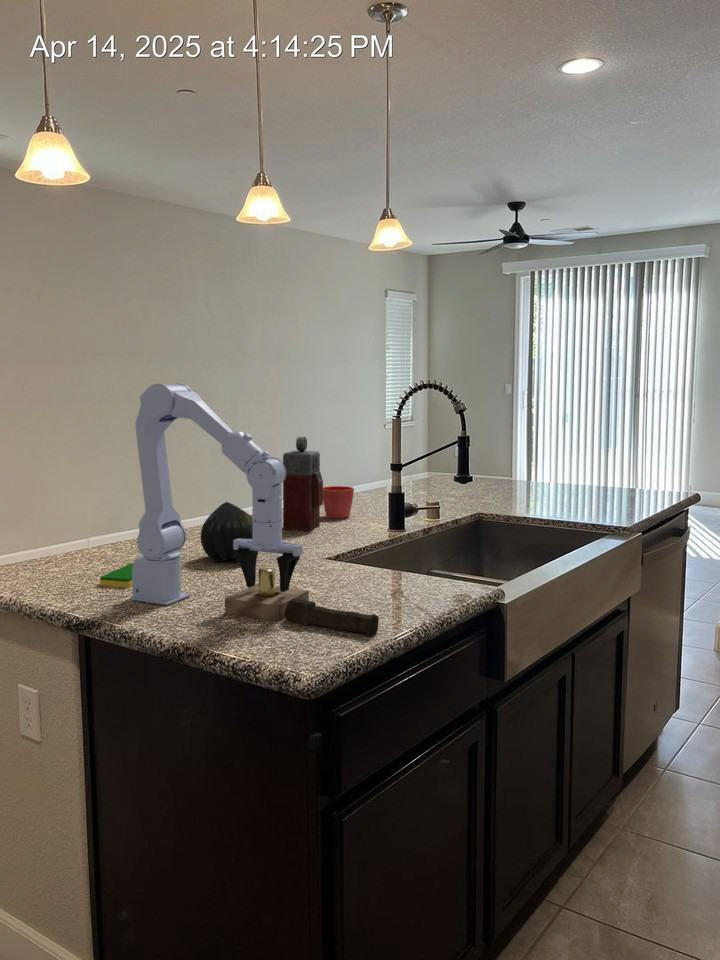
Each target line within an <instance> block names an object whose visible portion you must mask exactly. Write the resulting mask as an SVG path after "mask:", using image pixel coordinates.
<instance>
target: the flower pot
mask: <svg viewBox="0 0 720 960" xmlns="http://www.w3.org/2000/svg"><path fill="white" fill-rule="evenodd" d="M354 491H355V488H354V487H351V486H345V485H344V486H342V485H340V486H339V485H337V486H336V485H335V486H334V485H333V486H323V506H324V507H323V508H324V512H325V516H327V517H326V518H328V517H329V519H346V518H345V517H347V518H349V517H350V514H351V511H352V510H351V509H352V504H353V499H354V493H355V492H354Z"/></svg>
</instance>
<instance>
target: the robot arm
mask: <svg viewBox="0 0 720 960" xmlns="http://www.w3.org/2000/svg"><path fill="white" fill-rule="evenodd" d="M139 399H140V401H139V402H140V408H139V411H138V413H137V416H136V417H137V418H136V420H135V434H136V442H137V452H138V460H139V466H140V467H139V469H140V474H141V476H140V477H141V485H142V491H143V492H142V493H143V501H144V508H145V510H144V511H145V512H144V513H143V515H142V517H141V518H140V521H139V522H138V528H139V529H138V530H139V532H138V535H137V538H136V546H137V549H138V551H139V553H140V555H138V556H137V557H136V558H135V559H134V561H133V567H132V587H131V588H132V596H130V597H129V600H131V601H137V602H143V603H144V602H145V603H151V604H157V605H163V606H164V605H165V606H169V605H171V604H173V603H177V602H178V601H180V600H181V601H182V600H184V599H186V598H188V597H190V596H191V593H188V592H182V570H181V569H182V568H181V567H182V566H181V565H182V563H181V562H182V561H181V560H182V558H181V555H182V547H184V545H185V544H186V542H187V532H186V529H185V527H184V526H183V523H182V520H181V515H180V514H179V513H178V511H177V510H176V509H175V508H174V506H173V497H172V490H171V489H172V488H171V481H170V480H171V479H170V472H169V464H168V463H169V462H168V453H167V447H166V446H167V445H166V437H165V431H166V430H167V429H168V428H169V427H170V426H171V424H172V423H173V422H174V421H176V420H177V419H187V420H191V421H192V422H194V423H195V425H196V424H197V425H198V426H199V427H200V428H201V429H202V430H204V431H205V432H206V433H207V434H208V435H210V436H211V437H212V438H213V439H214V440H216V441H217V442H218V443H220V445H221V452H222V454H223V455H224V457H226V458H227V459H228V460H229V461H230V462H231V463H233V464H234V465H235V467H236V468H238V469H239V470H240V471H241V472H242V473H244V475H246V480H247V482H248V484H249V486H250V487H251V489H252V490H251V491H252V497H251V498H252V499H251V500H252V506H251V507H252V517H253V539H240V538H238V539H235V540H233V549H234V550H238V552H237V553H235V558H234V559H235V560H236V561H237V562H238V564H239V565H240V569H241V570H242V574H243V577H244V580H245V585H246V587H247V588H249V587H252V586H254V585H256V580H257V577H256V576H257V575H256V573H257V572H256V570H257V569H256V567H257V560H258V559H257V558H258V554H259V552H261V553H262V552H263V553H272V554H280V556H278V557H276V562H277V565H278V572H279V587H280V591H281V592H285V591H287V590H289V588H290V585H291V584H290V583H291V581H292V576H293V574H294V570H295V568H296V566H297V564H298V562H299V561H300V558H301V556H302V555H303V544H298V543H292V542H289V541H283V481H284V480H285V477H286V468H285V466H284V464H283V461H281V459H280V458H279V457H276V456H270V452H268V451H267V450H263V449H262V448H261V447H260V446H259V445H258V444H257V443H256V442H255V441H253V440H252V439H253V436H252V435H251V434H250V433H248V432H247V433H244V432H243V431H233V430H232V429H231V428H230V427H229V426H228V425H227V423H225V422H224V421H223V420H222V419H221V418H220V417H219V416H218V415H217V414H216V413H215V412H214V411H213V410H212V409H211V408H210V407H209V406H208V405H207V403H205V402H204V401H203V399H202V397H200V395H199V393H197V392H195V391H193V390H192V389H191V388H190V386H189V385H186V384H185V383H175V384H173V383H170V384H169V383H168V384H165V383H153V384H151V385H150V386H148V387H147V388H146V389H145V390H144V392H143V393H141V395H140V397H139Z"/></svg>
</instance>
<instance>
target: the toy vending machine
mask: <svg viewBox="0 0 720 960" xmlns="http://www.w3.org/2000/svg"><path fill="white" fill-rule="evenodd" d="M295 447H296V450H290V451H288V452H285V453H283V455H282V463H283V464H284V466H285V468H286V477H285V480H284V481H283V482H282V530H283V529H284V530H285V531H296V530H298V531H300V532H303V531H304V532H312V531H314V530H315V528H316V529H317V527H318V528H319V527H320V521H321V520H320V517H321V515H320V508H321V506H324V503H323V487H324V479H323V476H322V474H321V471H320V467H321V466H320V465H321V463H320V462H321V460H320V459H321V455H320V452H319V451H314V450H311V451H310V450H307V447H308V439H307V437H306V436H297V437H296V440H295ZM284 530H283V531H284Z"/></svg>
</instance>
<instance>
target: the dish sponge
mask: <svg viewBox="0 0 720 960" xmlns="http://www.w3.org/2000/svg"><path fill="white" fill-rule="evenodd" d="M133 563H134V562H133ZM133 563H128V564H127V565H124V566H122V567H119V568H117V569H115V570H112V571H110V572H108V573H106V574H104V575H102V576H100V577H99V585H100V587H109V586H110V587H112V588H124V589H126V588H127V589H129V588H132V567H133Z"/></svg>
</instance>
